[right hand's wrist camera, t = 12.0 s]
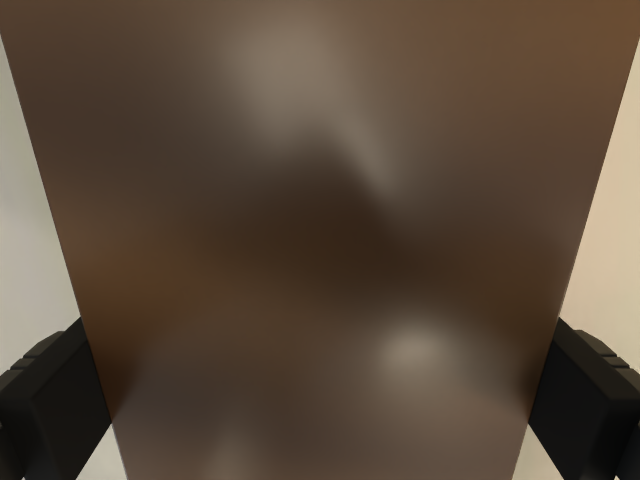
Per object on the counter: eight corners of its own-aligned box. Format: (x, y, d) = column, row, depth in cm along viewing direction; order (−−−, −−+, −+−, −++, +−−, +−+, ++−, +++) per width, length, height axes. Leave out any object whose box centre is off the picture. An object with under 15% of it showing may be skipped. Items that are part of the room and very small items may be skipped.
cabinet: (161, -195, 13) (-314, -1054, 3) (479, -194, 13) (957, -1047, 3) (220, 315, 21) (134, 509, 11) (418, 315, 21) (504, 509, 11)
